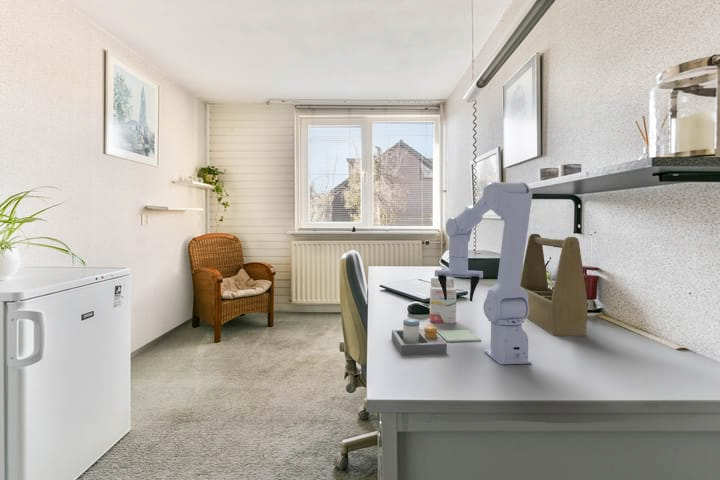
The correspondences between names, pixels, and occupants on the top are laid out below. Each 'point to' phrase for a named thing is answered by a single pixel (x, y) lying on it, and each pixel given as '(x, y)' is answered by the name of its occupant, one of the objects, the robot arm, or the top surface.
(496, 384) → the top surface
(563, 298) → the caddy
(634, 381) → the top surface
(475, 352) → the top surface
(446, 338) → the mat
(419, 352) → the dock
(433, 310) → the ink cartridge box
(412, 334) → the cylinder
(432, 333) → the plunger
